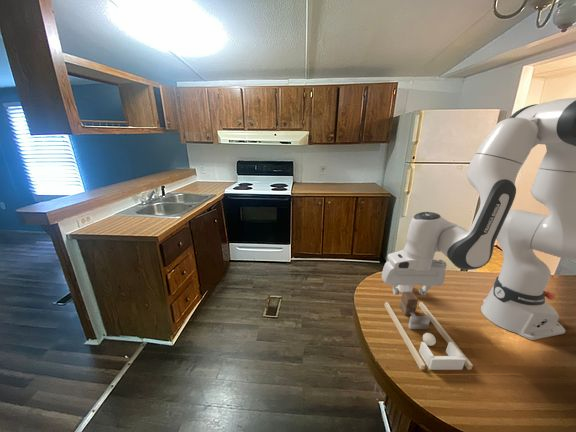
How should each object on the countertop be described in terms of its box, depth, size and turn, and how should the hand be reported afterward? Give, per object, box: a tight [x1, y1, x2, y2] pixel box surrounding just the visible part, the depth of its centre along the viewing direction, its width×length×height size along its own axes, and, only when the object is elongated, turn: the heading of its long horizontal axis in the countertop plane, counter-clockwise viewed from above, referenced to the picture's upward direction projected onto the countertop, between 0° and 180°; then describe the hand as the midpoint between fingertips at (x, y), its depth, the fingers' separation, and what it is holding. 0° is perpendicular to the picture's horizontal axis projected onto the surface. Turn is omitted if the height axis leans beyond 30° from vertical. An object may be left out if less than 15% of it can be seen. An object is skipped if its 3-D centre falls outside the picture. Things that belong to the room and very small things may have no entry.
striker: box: [399, 291, 431, 330], centre depth 80 cm, size 6×10×7 cm, turn 0°
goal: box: [418, 341, 466, 371], centre depth 65 cm, size 9×6×4 cm, turn 90°
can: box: [396, 285, 414, 294], centre depth 94 cm, size 6×6×12 cm
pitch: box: [384, 301, 474, 371], centre depth 75 cm, size 14×25×3 cm, turn 0°
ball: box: [422, 332, 437, 346], centre depth 70 cm, size 4×4×4 cm
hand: (408, 293), depth 81 cm, fingers open, 8 cm apart
